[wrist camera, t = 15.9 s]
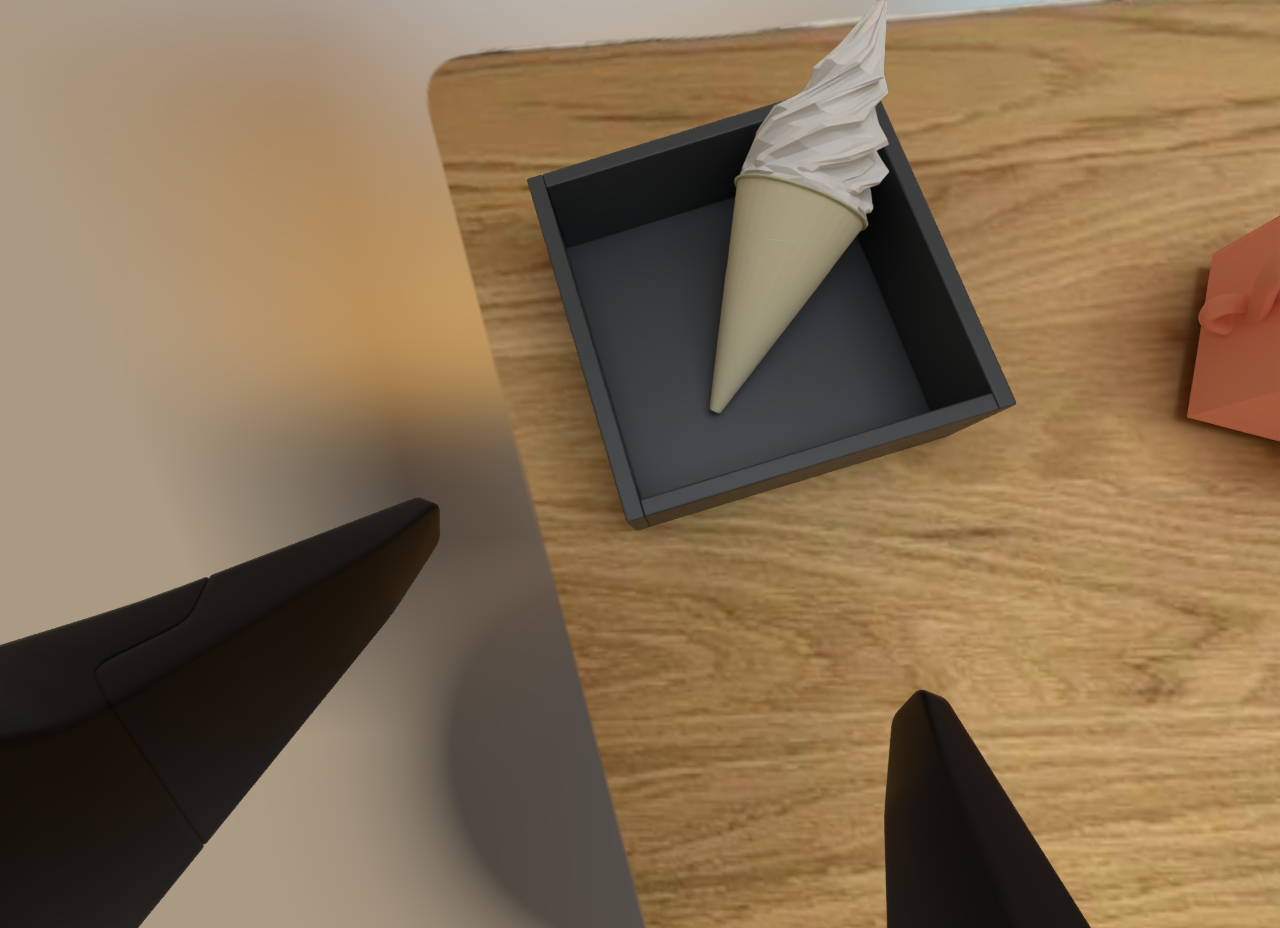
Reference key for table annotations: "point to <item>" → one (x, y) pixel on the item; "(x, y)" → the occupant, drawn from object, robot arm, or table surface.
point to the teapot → (1241, 337)
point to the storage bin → (796, 363)
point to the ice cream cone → (801, 200)
